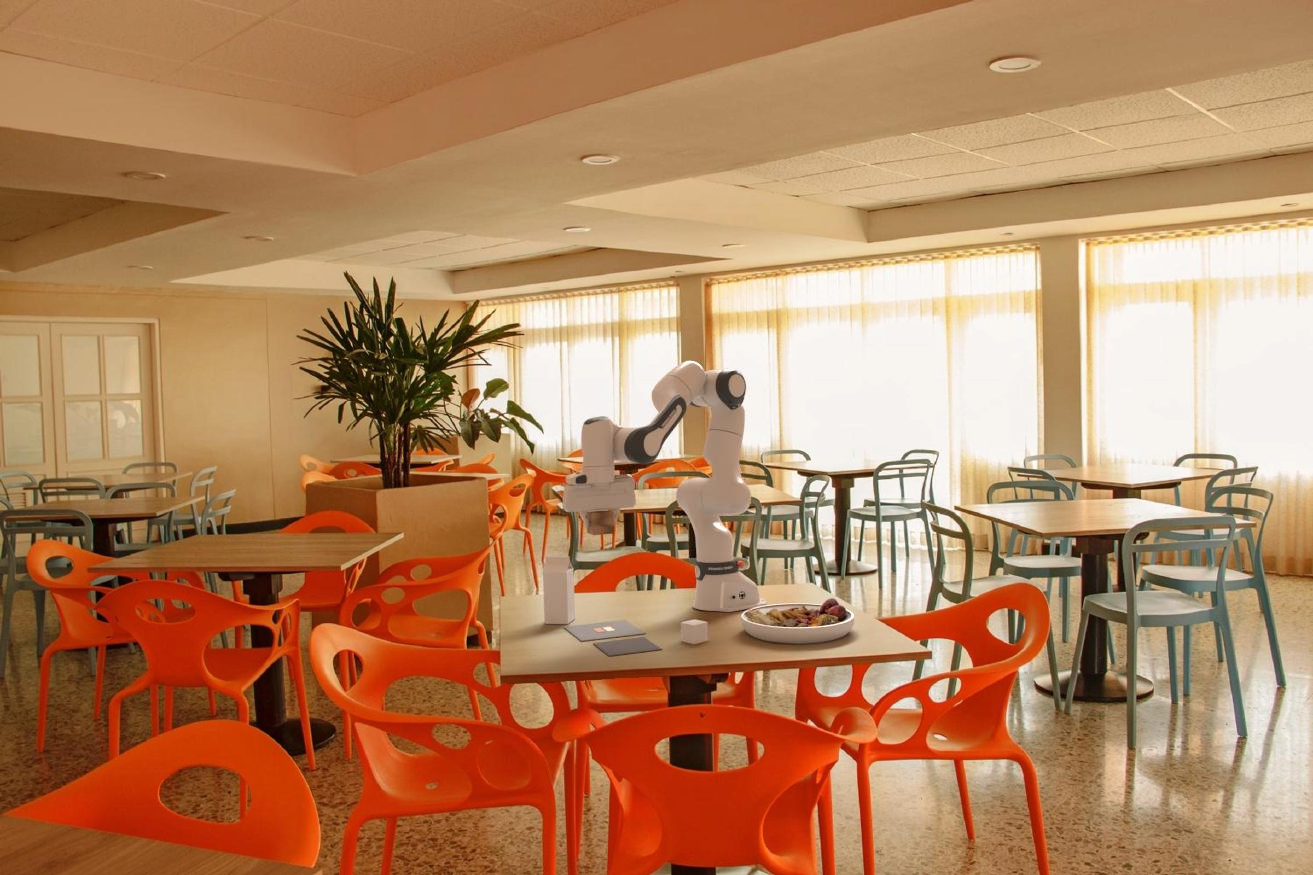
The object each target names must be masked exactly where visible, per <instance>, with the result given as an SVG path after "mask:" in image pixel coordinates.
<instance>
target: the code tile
mask: <svg viewBox="0 0 1313 875" xmlns="http://www.w3.org/2000/svg"><path fill="white" fill-rule="evenodd" d="M563 628H564V630H566V631H567V632H568V633H569V634H571V635H572V636H574V637H575V638H576V639H577V640H579V641H580V642H581V643H582V642H591V641H592V642H593V641H598V640H599V641H600V640H607V639H617V638H624V637H631V636H633V637H634V636H642V635H646V632H645V631H643V630H641V629H640V628H638V627H637V626H635V625H633V624H632V623H630V622H629V621H627V620H626V619H621V620H612V621H604V622H603V621H602V622H596V623H595V622H594V623H586V624H578V625H577V624H576V625H568V626H567V625H565V626H564V627H563Z"/></svg>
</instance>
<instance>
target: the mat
mask: <svg viewBox="0 0 1313 875" xmlns="http://www.w3.org/2000/svg"><path fill="white" fill-rule="evenodd" d="M592 644H593V646H594V647H596V648H597V649H599V650H600V651H601V652H603V653H604V654H605V655H607V656H608V657H616V656H617V657H618V656H624V655H632V654H641V653H648V652H656V651H657V652H658V651H662V650H663V648H661V647H660V646H658V645H657V644H655V643H654V642H652V641H650V640H649V639H647V638H646V637H645V636H641V637H633V638H632V637H631V638H624V639H617V640H616V639H615V640H607V641H600V642H599V641H598V642H592Z"/></svg>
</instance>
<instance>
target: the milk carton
mask: <svg viewBox="0 0 1313 875" xmlns="http://www.w3.org/2000/svg"><path fill="white" fill-rule="evenodd" d="M574 573H575V572H574V566H573V565H572V563H571V560H570V556H545V562H544V565H543V570H542V588H543V614H544V615H543V616H544V624H545V625H546V624H547V625H569V624H570V623H572V621H574V620H575V619H576V607H575V606H576V605H575V578H574V577H575V576H574Z"/></svg>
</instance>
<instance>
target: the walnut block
mask: <svg viewBox="0 0 1313 875" xmlns="http://www.w3.org/2000/svg"><path fill="white" fill-rule="evenodd" d="M614 514H615V512H613V510H611V509H605V510H592V511H586V515H585V516H586V519H587V520H589V521H591V524H590V525H591V527H587V528H586V533H588V534H590V535H592V536H600V535H611V534H612V535H613V534H614V535H615V525H614Z"/></svg>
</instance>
